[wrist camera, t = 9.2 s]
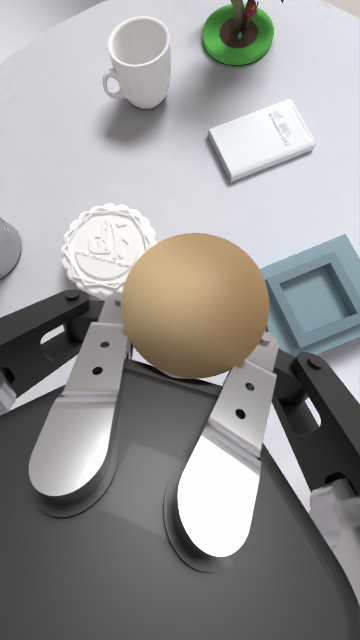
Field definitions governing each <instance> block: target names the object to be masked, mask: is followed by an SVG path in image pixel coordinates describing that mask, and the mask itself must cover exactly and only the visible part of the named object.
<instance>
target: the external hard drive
mask: <svg viewBox="0 0 360 640" xmlns="http://www.w3.org/2000/svg"><path fill="white" fill-rule="evenodd" d="M208 138H209V140H210V142H211V144H212V146H213V148H214V150H215V152H216V154H217V156H218V158H219V160H220V162H221V164H222V166H223V168H224V170H225V172H226V174H227V176H228V179H229V181H230V183H231V182H233V181H236V180H238V179H241V178H243V177H246V176H248V175H251V174H254V173H256V172H259V171H261V170H264V169H266V168H269V167H271V166H274V165H276V164H279V163H282V162H284V161H287V160H289V159H292V158H294V157H297V156H299V155H302V154H304V153H307V152H309V151H312V150H313V149H314V147H315V145H316V143H315V140H314V138H313V136H312V135H311V133H310V131H309V130H308V128H307V126H306V125H305V123H304V121H303V119H302V117H301V116H300V114H299V112H298V110H297V109H296V107H295V105H294V103H293V101H292V100H291V99H288V100H285V101H282V102H280V103H277V104H274V105H272V106H269V107H266V108H264V109H261V110H259V111H256V112H253V113H251V114H248V115H245V116H243V117H240V118H237V119H235V120H232V121H229V122H227V123H224V124H222V125H219V126H217V127H214V128H211V129H209V130H208Z"/></svg>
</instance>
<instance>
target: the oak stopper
mask: <svg viewBox="0 0 360 640" xmlns="http://www.w3.org/2000/svg"><path fill="white" fill-rule="evenodd" d="M121 314H122V320H123V324H124V327H125V331H126V333H127V335H128V337H129V340H130V341H131V343H132V344H133V346H134V348H135V349H136V350H137V351H138V352H139V354H140V355H141V356H142V357H143V358H144V359H145V360H147V361H148V362H149V363H150V364H152V365H153V366H155V367H156V368H158V369H160V370H162V371H164V372H166V373H169V374H172V375H174V376H179V377H184V378H206V377H212V376H216V375H219V374H222V373H225V372H227V371H229V370H231V369H233V367H236V366H237V365H239V364H240V363H242V362H243V361H244V360H245V359H246V358H247V357H248V356H249V355H250V354H251V353H252V352H253V351H254V349H255V348H256V347H257V345H258V343H259V342H260V340H261V338H262V336H263V334H264V332H265V329H266V325H267V322H268V316H269V295H268V290H267V286H266V283H265V280H264V278H263V275H262V273H261V272H260V270H259V268H258V266H257V265H256V264H255V262H254V261H253V260H252V259H251V258H250V257H249V256H248V255H247V254H246V253H245V252H244V251H243V250H242V249H240V248H239V247H238V246H236V245H235V244H233V243H231V242H230V241H227V240H225V239H223V238H220V237H217V236H213V235H208V234H200V233H190V234H182V235H177V236H173V237H170V238H168V239H165V240H163V241H161V242H159V243H157V244H156V245H154V246H153V247H151V248H150V249H149V250H147V251H146V252H145V253H144V254H143V255H142V256H141V257H140V258H139V259H138V260H137V261H136V263H135V264H134V266H133V267H132V269H131V270H130V272H129V274H128V276H127V279H126V281H125V284H124V288H123V292H122V299H121Z"/></svg>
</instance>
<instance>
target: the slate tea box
mask: <svg viewBox="0 0 360 640" xmlns="http://www.w3.org/2000/svg"><path fill="white" fill-rule="evenodd" d="M259 270H260V272H261V273H262V275H263V278H264V280H265V283H266V286H267V290H268V295H269V316H268V322H267V327H268V331H269V333H270V334H272V335H273V336H274V337H275V338H276V339H277V341H278V343H279V348H280V349H281V350H283V351H285V352H287V353H289V354H291V355H293V356H295V357H296V356H297V355H298V354H299V353H300V352H309V353H312V354H315V355H317V354H320V353H322V352H325V351H327V350H329V349H332V348H334V347H337V346H339V345H341V344H344V343H346V342H348V341H351V340H353V339H356V338H358V337H360V259H359V257H358V255H357V254H356V252H355V250H354V248H353V246H352V245H351V243H350V241H349V239H348V238H347V236H346V234H344V235H342V236H339V237H337V238H334V239H332V240H329V241H327V242H325V243H322V244H320V245H317V246H315V247H312V248H310V249H308V250H305V251H303V252H300V253H298V254H295V255H293V256H290V257H288V258H286V259H283V260H281V261H278V262H276V263H273V264H271V265H268V266H266V267H264V268H261V269H259Z"/></svg>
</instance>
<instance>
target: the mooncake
mask: <svg viewBox="0 0 360 640" xmlns="http://www.w3.org/2000/svg"><path fill="white" fill-rule="evenodd" d="M63 242H64V245H63V246H62V247H61V250H60V253H61V255H62V257H63V260H62V266H63V268H64V269H65V270H67V276H68V278H69V280H71V281H72V282H74V283H76V286H77V287H78V288H79V289H80V290H82V291H84V292H86V293H88V294H90V295H93V296H95V297H97V298H99V299H100V300H106V298H107V297H108V296H110V295H112V294H116V293H122V292H123V288H124V284H125V281H126V279H127V276H128V274H129V272H130V270H131V269H132V267H133V266H134V264H135V263H136V261H137V260H138V259H139V258H140V257H141V256H142V255H143V254H144V253H145V252H146V251H147V250H149V249H150V248H151V247H153V246H154V245H156V244H157V243H158V240H157V236H156V233H155V231H154V229H152V228H151V225H150V222H149V220H148V219H147V218H145V217H141V214H140V212H139V211H137V210H136V209H130V210H129V208H128V207H127V206H126V205H123V204H121V205H118V206H115V205H114V204H111V203H108V204H105V205H104V206H103V207H101V206H94V207H92V208H91V209H90V211H89V212H83V213H81V214H80V215H79V217H78V220H75V221H73V222H72V223H71V224H70V225H69V231H68V232H66V233H65V234H64V236H63Z"/></svg>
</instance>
